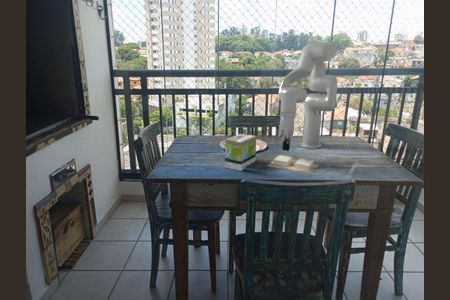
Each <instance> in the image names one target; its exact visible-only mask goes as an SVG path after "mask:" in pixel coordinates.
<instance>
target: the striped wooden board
mask: <svg viewBox="0 0 450 300" xmlns="http://www.w3.org/2000/svg"><path fill="white" fill-rule="evenodd" d="M298 160H299V159H295V158H292V162H291V163H290V164H289V165H288V166H287V167H285V166H280V165H274V164H273V160H272V161H271V162H270V163H268V164H267V165H266V166H267V167H271V168H272V167H273V168H278V169H283V170H288V171H293V172H299V173H305V174H309V175H310V174H312V173H313V172H314V171H315V170H316V169H317V168H318V167H319V165H320V163H317V162H314V165H313V167H312V168H311V169H310V170H309V171H308V170H302V169H297V168H294V165H295V163H296V162H297V161H298Z"/></svg>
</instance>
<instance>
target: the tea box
mask: <svg viewBox="0 0 450 300" xmlns="http://www.w3.org/2000/svg"><path fill="white" fill-rule="evenodd" d="M256 139H257V135H251V134H246V133H239V134H237V135H233V136H231V137H229V138H226V139H224V141H225V149H224V168H226V169H230V170H235V171H239V172H242V171H244V170H245V169H247V168H248V166H250V165H251V164H253V163H254V162H256V157H257V156H256V155H257V154H256V153H257V152H256Z"/></svg>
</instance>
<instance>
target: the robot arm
mask: <svg viewBox="0 0 450 300" xmlns="http://www.w3.org/2000/svg"><path fill="white" fill-rule="evenodd" d="M337 52H338V46H337V44H336V43H335V42H333V41H322V42H321V41H316V42H315V41H314V42H309V43H308V42H307V44H305V46H304V47H302V49H301V52H300V55H299V58H298V60H297V63H296V66H295V68H294V69H293V70H292V71H290V72H289V73H287V75H286V76H285V77H284V78H283V79H282V81H281V83H280V87H279V88H278V92H277V93H278V94H277V97H278V100H279V101H280V112H279V113H280V114H279V115H280V116H279V117H280V120H279V127H278V138H281V142H282V149H281V150H282V151H285V152H289V151H290V147H291V138H292V136H293V135H294V132H295V119H296V118H297V117H296V114H297V104H302V103H303V106H304V107H303V108H304V117H303V118H304V120H303V121H304V122H303V135H302V142H300V143H299V146H300V147H302V148H304V149H310V150H311V149H312V150H315V149H320V148H322V144H321V143H320V134H321V126H322V125H321V123H322V117H321V114H320V113H319V111H321V112H332V111H334V109H335V106H336V99H337V92H338V78H337V76H335V75H332V74H326V68H327V66H326V63H325V62H329V61H331V60H332V59H334V58H335V56H336V55H337ZM305 78H308V89H309V91H311V92H321V93H308V92H307V90H306V89H305V88H302V87H293V86H292V87H291V85H293V83H295V82H298V81H300V80H304V79H305ZM322 93H323V94H322ZM324 93H326V94H324Z"/></svg>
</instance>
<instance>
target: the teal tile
mask: <svg viewBox="0 0 450 300" xmlns="http://www.w3.org/2000/svg"><path fill="white" fill-rule="evenodd" d="M297 160H298V161H297V162H296V163H295V165H294V168H297V169H302V170H308V171H309V170H310V169H311V168H312V167H313V165H314V163H315V161H314V160H313V159H311V160H310V159H306V158H299V159H297Z"/></svg>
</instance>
